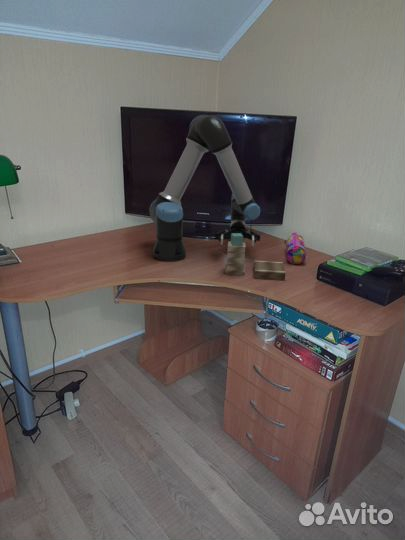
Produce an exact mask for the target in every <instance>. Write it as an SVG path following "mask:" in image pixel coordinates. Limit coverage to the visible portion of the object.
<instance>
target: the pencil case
mask: <svg viewBox="0 0 405 540" xmlns="http://www.w3.org/2000/svg"><path fill="white" fill-rule="evenodd" d="M297 233H298V232H292V234H291V235H290V236H289V237H288V238H287V239H285V240H284V243H283V244H284V245H286V251H285V252H286V253H285V255H286V256H285V257H286V259H287V261H288V262H289V263H290V264H291V265H292V264H293V265H300V264H303V263H304V262H305V261H306V258H307V251H306V249H305V247H306V246H305V241H304V237H303V236H302V235H299V234H297Z"/></svg>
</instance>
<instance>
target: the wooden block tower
mask: <svg viewBox="0 0 405 540" xmlns="http://www.w3.org/2000/svg"><path fill="white" fill-rule="evenodd" d="M245 255H246V242H244V241H243V246H233V245H232V244H231V241H228V242H227V251H226V264H225V269H224V275H233V276H234V275H235V276H245V273H246V272H245V271H246V267H245Z"/></svg>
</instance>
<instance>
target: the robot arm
mask: <svg viewBox="0 0 405 540" xmlns="http://www.w3.org/2000/svg"><path fill="white" fill-rule="evenodd" d="M185 140H186V146H185V147H184V150H183V151H182V154H181V156H180V158H179V160H178V162H177V164H176V166H175V168H174V170H173V173H171V176H170V178H169V181H168V182H167V184H166V186H165V188H164V190H163V191H162V192H159V193H158V195H157V198H155V200H153V201H152V203H151V204H150V206H149V210H148V211H149V216H150V218H151V220H152V222H154V224H155V226H156V228H155V229H156V233H155V234H156V239H155V243H154V245H153V246H154V247H153V250H152V257H153V258H154V257H155V258H157V259H156V260H158V259H160V260H159V261H161V260H165V261H164V262H176V261H175V260H178V261H181V260H180V259H182V260H184V259H185V258H186V257H187V251H186V247H185V244H184V243H185V242H184V240H183V236H184V235H183V232H184V231H183V226H184V225H183V224H184V223H183V222H184V218H183V217H184V212H183V211H184V209H183V207H182V203H181V199H182V197H183V195H184V193H185V192H186V190H187V188H188V186H189V184H190V181H191V180H192V178H193V176H194V173H195V172H196V169H197V168H198V166H199V164H200V161H201V159H202V158H203V155H204V154H205V153H208V152H210V151H211V154H212V155H215V157H216V159H217V162H218V164H219V166H220V168H221V170H222V173H223V175H224V177H225V179H226V181H227V184H228V186H229V188H230V190H231V200H230V201H231V205H230V206H231V207H230V222H231V223H230V222H229V223H230V226H229V229H228V230H227V229H226V228H222V229H221V230H220V231H218V232H215V234H214V239H215V240H218V242H220V246H221V245H223V244H224V239H228V238H230V239H231V233H241V234H242V235H243V239H247V240H250V241H251V246H252V247H254V246H255V243H257V242H260V241H261V234H258V232H255V231H253V229H250V230H248V231H247V230H246V228H247V227H246V223H245V222H247V221H246V219H247V220H252V221H253V220H255V219H257V218H259V216H260V214H261V207H260V206H259V205H258V204H257V203H256V201H255V200H254V198H253V195H252V193H251V190H250V188H249V186H248V183H247V181H246V179H245V176H244V174H243V172H242V169H241V167H240V165H239V162H238V159H237V157H236V155H235V152H234V150H233V148H232V145H233V141H232V139H231V137H230V135H229V132H228V130H227V127H226V126H225V124H224V122H223V120H222V119H221V118H219V117H218V116H215V115H206V114H201V115H198V116H196V117H195V118H193V119H192V121H191V122H190V125H189V130H188V134H187V136H186V138H185ZM155 258H154V259H155ZM183 258H184V259H183Z"/></svg>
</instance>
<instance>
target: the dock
mask: <svg viewBox="0 0 405 540" xmlns="http://www.w3.org/2000/svg"><path fill="white" fill-rule="evenodd" d="M253 277H254V278H253V279H257V280H261V279H263V280H274V281H275V280H276V281H286V270H285V267H284V262H282V261H267V260H253Z"/></svg>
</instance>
